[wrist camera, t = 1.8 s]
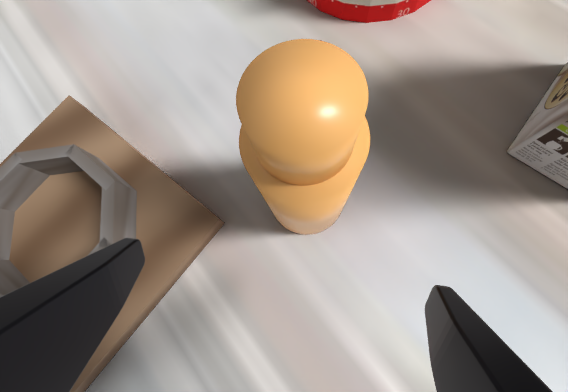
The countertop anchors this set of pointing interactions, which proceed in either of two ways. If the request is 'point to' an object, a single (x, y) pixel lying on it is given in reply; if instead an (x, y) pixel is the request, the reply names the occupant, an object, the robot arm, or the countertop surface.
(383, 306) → the countertop surface
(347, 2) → the kitchen timer
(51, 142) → the peg board base
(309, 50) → the wooden peg doll
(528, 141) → the coffee box
